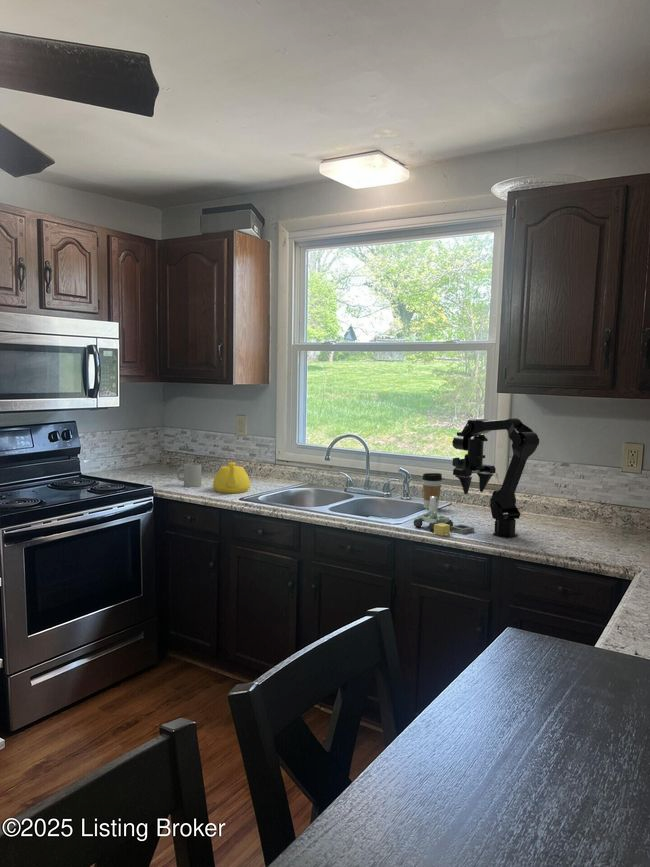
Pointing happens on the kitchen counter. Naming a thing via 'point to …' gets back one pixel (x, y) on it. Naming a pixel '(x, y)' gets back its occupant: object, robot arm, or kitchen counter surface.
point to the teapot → (231, 479)
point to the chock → (441, 529)
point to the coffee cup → (431, 487)
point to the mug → (191, 474)
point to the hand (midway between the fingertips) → (473, 492)
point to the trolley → (432, 521)
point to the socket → (462, 529)
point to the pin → (433, 507)
